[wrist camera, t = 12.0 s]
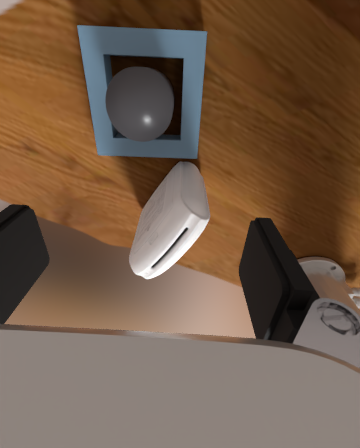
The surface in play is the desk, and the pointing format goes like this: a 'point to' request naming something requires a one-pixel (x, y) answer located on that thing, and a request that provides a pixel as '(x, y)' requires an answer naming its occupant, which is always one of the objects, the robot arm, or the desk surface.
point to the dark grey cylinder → (140, 103)
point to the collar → (143, 47)
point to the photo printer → (170, 221)
